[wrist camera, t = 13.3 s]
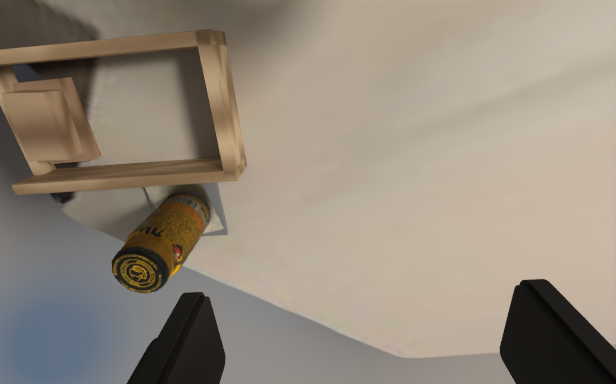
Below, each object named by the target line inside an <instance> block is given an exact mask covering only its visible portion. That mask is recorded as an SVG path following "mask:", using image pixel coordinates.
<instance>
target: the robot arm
mask: <svg viewBox="0 0 616 384" xmlns="http://www.w3.org/2000/svg"><path fill="white" fill-rule="evenodd" d="M500 354H501V357H502V360H503V362H504V364H505V365H506V367H507V369H508V371H509V372H510V374H511V376H512V377H513V379H514V381H515V383H516V384H616V350H615V349H614V348H613V346H612V345H611V344H610V343H609V342H608V341H607V340H606V339H605V338H604V337H603V336H602V335H601V334H600V333H599V332H598V331H597V330H596V329H595V328H594V327H593V326H592V325H591V324H590V323H589V322H588V321H587V320H586V319H585V318H584V317H583V316H582V315H581V314H580V313H579V312H578V311H577V310H576V309H575V308H574V307H573V306H572V305H571V304H570V303H569V302H568V301H567V299H566V298H565V297H564V296H563V295H562V294H561V293H560V292H559V291H558V290H557V289H556V288H555V287H554V286H553V285H552V284H551V283H550V282H549V281H547V280H545V279H536V280H522V281H521V282H520V285H517V286H516V287H515V289H514V293H513V297H512V301H511V305H510V309H509V313H508V317H507V321H506V325H505V329H504V333H503V337H502V341H501V345H500ZM224 366H225V352H224V349H223V345H222V341H221V338H220V334H219V331H218V327H217V323H216V319H215V316H214V312H213V309H212V305H211V302H210V298H209V297H205V296H204V294H203V293H202V292H192V293H183V294H182V295H181V297H180V298H179V300H178V302H177V304H176V306H175V308H174V309H173V311H172V313H171V315H170V316H169V318H168V320H167V322H166V323H165V325H164V327H163V329H162V331H161V332H160V334H159V336H158V338H155V339H154V340H153V341H152V342H151V343H150V345H149V346H148V348H147V349H146V351H145V353H144V355H143V356H142V358H141V360H140V361H139V363H138V365H137V367H136V369H135V370H134V372H133V374H132V375H131V377H130V379H129V381H128V383H127V384H219V383H220V380H221V376H222V373H223V370H224Z"/></svg>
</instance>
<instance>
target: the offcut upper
mask: <svg viewBox="0 0 616 384" xmlns="http://www.w3.org/2000/svg"><path fill="white" fill-rule="evenodd" d="M1 95H2V97H3V100H4V102H5V105H6V107H7V110H8V112H9V114H10V117H11V119H12V122H13V124H14V126H15V129H16V131H17V134H18V136H19V138H20V141H21V143H22V146H23V148H24V150H25V153H26V155H27V158H28V160H29V161H51V160H70V159H72V158H74V157H77V156H79V155H81V154H84V152H83V149H82V146H81V143H80V140H79V137H78V134H77V131H76V128H75V125H74V122H73V119H72V116H71V113H70V110H69V107H68V104H67V101H66V98H65V95H64V92H63V90H22V91H15V92H7V93H1Z"/></svg>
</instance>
